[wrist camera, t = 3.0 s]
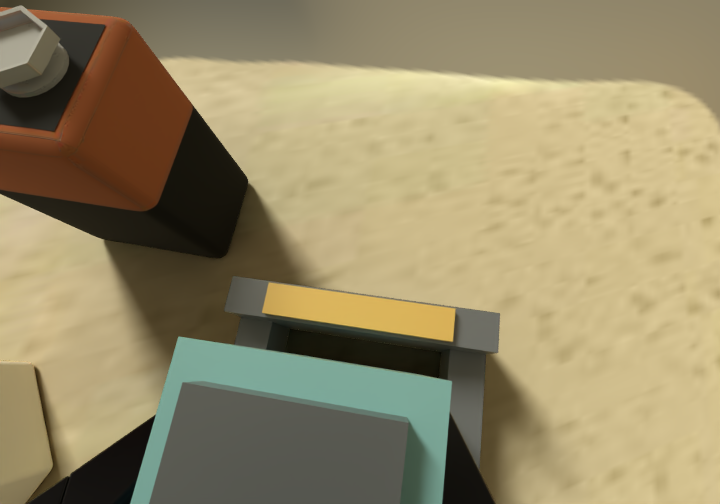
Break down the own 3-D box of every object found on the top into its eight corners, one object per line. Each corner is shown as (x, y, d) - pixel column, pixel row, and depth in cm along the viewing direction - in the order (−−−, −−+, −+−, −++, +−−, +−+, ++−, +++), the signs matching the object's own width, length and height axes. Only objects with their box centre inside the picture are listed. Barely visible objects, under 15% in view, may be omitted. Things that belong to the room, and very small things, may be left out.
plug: (400, 496, 14) (423, 839, 4) (285, 473, 14) (37, 721, 4) (413, 373, 15) (459, 382, 5) (308, 355, 16) (156, 333, 6)
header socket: (455, 581, 13) (485, 680, 9) (217, 527, 14) (144, 593, 10) (472, 326, 15) (502, 312, 11) (269, 297, 16) (229, 273, 12)
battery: (228, 262, 17) (27, 131, 8) (97, 240, 18) (-230, 97, 9) (254, 178, 18) (107, -26, 9) (129, 161, 19) (-125, -41, 10)
